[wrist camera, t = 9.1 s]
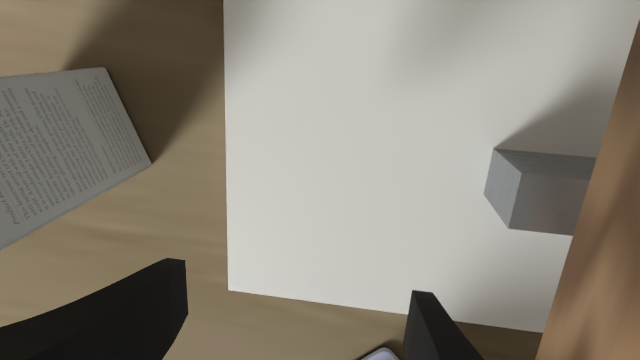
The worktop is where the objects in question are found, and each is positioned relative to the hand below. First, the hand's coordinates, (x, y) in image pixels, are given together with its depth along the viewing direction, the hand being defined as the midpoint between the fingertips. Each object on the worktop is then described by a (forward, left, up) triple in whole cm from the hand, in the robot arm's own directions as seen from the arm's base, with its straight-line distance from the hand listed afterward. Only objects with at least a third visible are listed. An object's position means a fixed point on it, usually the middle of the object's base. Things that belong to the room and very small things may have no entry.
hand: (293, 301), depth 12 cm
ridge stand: (-3, -6, -10) cm, 12 cm away
